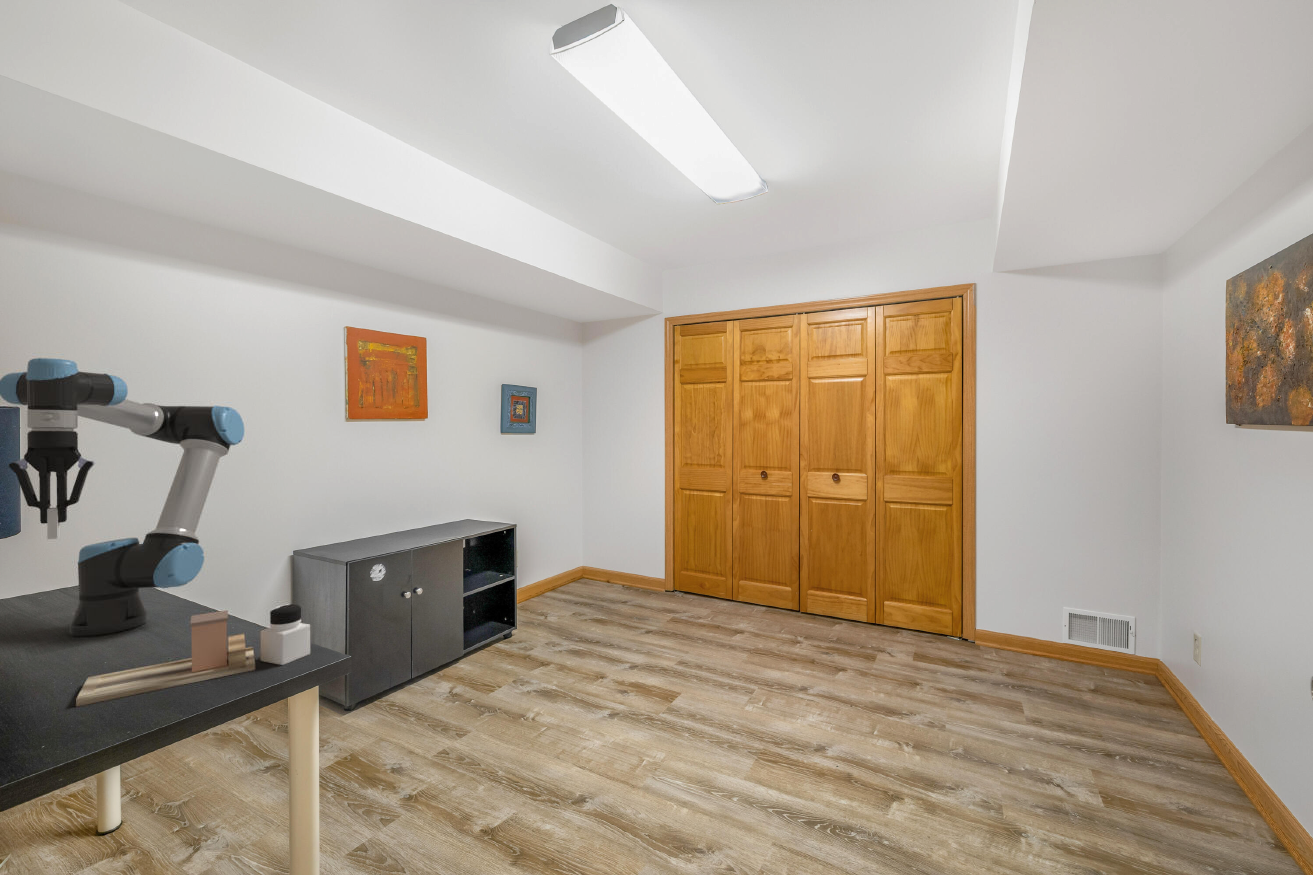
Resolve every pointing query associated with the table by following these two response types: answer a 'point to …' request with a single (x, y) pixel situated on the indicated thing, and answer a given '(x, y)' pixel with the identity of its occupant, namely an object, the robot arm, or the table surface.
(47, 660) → the table surface
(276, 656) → the medicine bottle
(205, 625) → the pink box with lid
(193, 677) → the rail track
